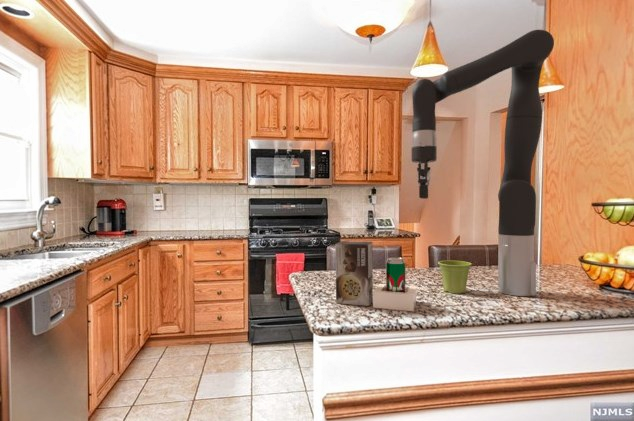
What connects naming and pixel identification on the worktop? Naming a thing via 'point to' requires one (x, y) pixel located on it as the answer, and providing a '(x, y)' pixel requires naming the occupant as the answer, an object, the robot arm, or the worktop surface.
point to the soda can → (395, 275)
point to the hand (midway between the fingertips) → (423, 198)
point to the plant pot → (454, 275)
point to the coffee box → (354, 273)
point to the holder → (395, 298)
